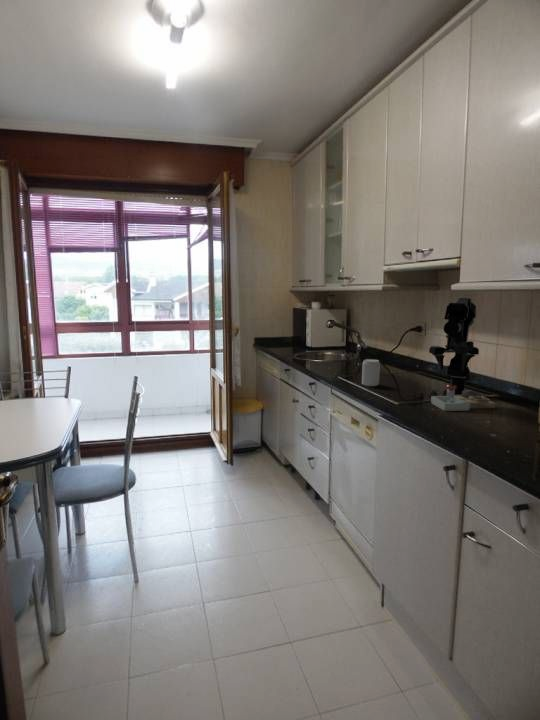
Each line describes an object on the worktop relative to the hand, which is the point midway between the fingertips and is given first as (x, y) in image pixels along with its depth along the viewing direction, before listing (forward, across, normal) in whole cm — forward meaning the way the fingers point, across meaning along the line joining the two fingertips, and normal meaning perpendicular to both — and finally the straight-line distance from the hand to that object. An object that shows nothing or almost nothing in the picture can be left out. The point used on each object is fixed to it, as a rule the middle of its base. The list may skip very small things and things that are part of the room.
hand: (452, 370), depth 187 cm
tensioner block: (+12, +7, -6) cm, 16 cm away
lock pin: (+12, -5, -10) cm, 16 cm away
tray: (+12, -5, -10) cm, 17 cm away
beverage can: (+13, -25, +30) cm, 41 cm away
